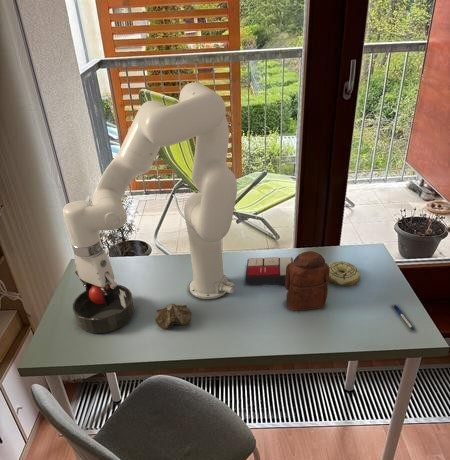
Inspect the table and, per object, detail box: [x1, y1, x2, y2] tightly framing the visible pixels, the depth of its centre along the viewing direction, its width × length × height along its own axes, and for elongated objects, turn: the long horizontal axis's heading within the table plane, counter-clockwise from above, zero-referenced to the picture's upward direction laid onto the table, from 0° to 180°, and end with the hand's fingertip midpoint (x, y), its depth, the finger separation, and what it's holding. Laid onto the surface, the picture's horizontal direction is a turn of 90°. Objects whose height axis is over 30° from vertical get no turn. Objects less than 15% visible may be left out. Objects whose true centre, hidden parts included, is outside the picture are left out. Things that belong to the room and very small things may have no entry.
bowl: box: [72, 283, 136, 334], centre depth 128 cm, size 17×17×6 cm
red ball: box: [89, 285, 108, 304], centre depth 125 cm, size 6×6×6 cm
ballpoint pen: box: [393, 304, 414, 331], centre depth 122 cm, size 10×1×1 cm, turn 10°
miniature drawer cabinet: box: [245, 256, 294, 286], centre depth 141 cm, size 11×4×15 cm
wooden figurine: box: [284, 250, 330, 312], centre depth 124 cm, size 12×6×18 cm, turn 97°
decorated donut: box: [327, 260, 361, 287], centre depth 138 cm, size 10×11×4 cm
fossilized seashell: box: [154, 303, 193, 329], centre depth 124 cm, size 8×7×10 cm
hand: (101, 299), depth 126 cm, fingers closed on red ball, 6 cm apart
